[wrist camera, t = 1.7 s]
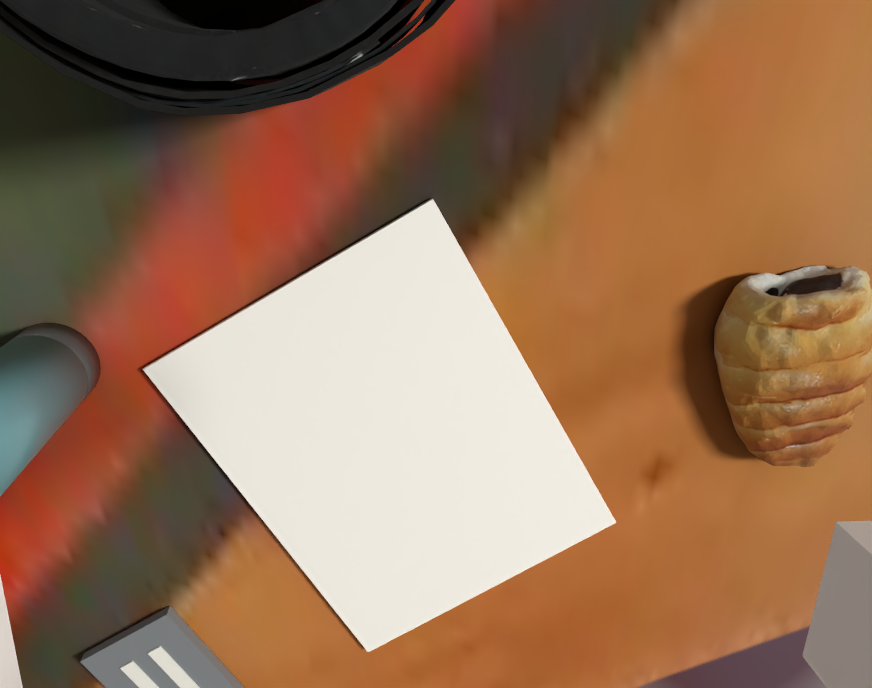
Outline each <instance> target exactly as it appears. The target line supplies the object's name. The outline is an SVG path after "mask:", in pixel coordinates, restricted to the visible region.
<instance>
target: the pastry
mask: <svg viewBox="0 0 872 688" xmlns="http://www.w3.org/2000/svg"><path fill="white" fill-rule="evenodd" d="M869 282H870V277H869V275H868V274H867V273H866V272H865V271H863V270H861V269H859V268H857V267H855V266H849V267H843V268H832V269H828V268H827V267H825V266H822V265H818V266H806V267H803V268H801V269H798V270H793V271H790V272H787V273H785V274H783V275H780V276H779V275H775V274H772V273H761V274H757V275H753V276H748V277H746V278H745V279H744V280H742V281H741V282H740V283H739V284H737V285H736V286H735V288H734V289H733V291H732V292H731V294H730V296H729V298H728V299H727V301H726V303H725V306H724V308H723V310H722V312H721V314H720V316H719V318H718V320H717V323H716V326H715V334H714V355H715V358H716V362H717V369H718V373H719V377H720V382H721V387H722V390H723V393H724V397H725V400H726V403H727V406H728V409H729V412H730V415H731V418H732V421H733V424H734V427H735V430H736V432H737V434H738V436H739V438H740V439H741V440H742V441H743V443H744V444H745V445H746V447H747V449H748V451H750V452H751V453H752V454H754V455H755V456H757V457H758V458H759V459H761V460H763V461H765V462H767V463H769V464H771V465H774V466H792V465H798V466H802V467H809V466H814V465H815V464H816V463H817V462H818V461H819V460H820V459H821V458H822V457H823V456H824V455H825V454H827V453H828V452H829V451H830V450H831V449H832V448H833V447H834V446H835V444H836V442H837V441H838V439H839V438H840V436H841V434H842V433H843V432H844V431H845V430H846V429H849V428H850V427H851V426H852V424H853V419H854V416H853V413H854V409H855V407H856V406H858V405H859V404H861V403H863V402H864V401H865V400H866V397H867V392H866V381H867V380H868V379H869V378H870V377H871V375H872V349H871V346H872V290H871V287H870V285H869Z"/></svg>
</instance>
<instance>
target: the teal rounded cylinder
mask: <svg viewBox="0 0 872 688" xmlns="http://www.w3.org/2000/svg"><path fill="white" fill-rule="evenodd" d="M99 376H100V361H99V357H98V354H97V352H96V350H95V348H94V347H93V345H92V344H91V342H90V341H89V340H88V339H87V338H86V337H85V336H83V335H82V334H81V333H79V332H78V331H76V330H74V329H72V328H70V327H68V326H65V325H61V324H56V323H41V324H36V325H33V326H30V327H28V328H27V329H25V330H23V331H22V332H21V333H19V334H18V335H17V336H15V337H14V338H13V339H11V340H10V341H9V342H7V343H6V344H5V345H3V346H2V347H1V348H0V496H1V495H2V494H3V493H4V492H5V490H6V489H7V488H8V487H9V486H10V485H11V484H12V482H13V481H14V480H15V479H16V478H17V477H18V475H19V474H20V473H21V472H22V471H23V470H24V468H25V467H26V466H27V465H28V464H29V463H30V462H31V460H32V459H33V458H34V457H35V456H36V455H37V453H38V452H39V451H40V450H41V449H42V448H43V447H44V445H45V444H46V443H47V442H48V441H49V440H50V438H51V437H52V436H53V435H54V434H55V433H56V432H57V430H58V429H59V428H60V427H61V426H62V425H63V423H64V422H65V421H66V420H67V419H68V418H69V417H70V415H71V414H72V413H73V412H74V411H75V410H76V408H77V407H78V406H79V405H80V404H81V403H82V402H83V400H84V399H85V398H86V397H87V396H88V395H89V393H90V392H91V391H92V390H93V389H94V387H95V386H96V384H97V382H98V380H99Z"/></svg>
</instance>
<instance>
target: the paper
mask: <svg viewBox="0 0 872 688" xmlns="http://www.w3.org/2000/svg"><path fill="white" fill-rule="evenodd" d="M143 370H144V372H145V373H146V374H147V375H148V377H149V378H150V379H151V381H152V382H153V383H154V384H155V386H156V387H157V388H158V389H159V391H160V392H161V393H162V394H163V396H164V397H165V398H166V399H167V401H168V402H169V403H170V404H171V406H172V407H173V408H174V409H175V411H176V412H177V413H178V414H179V416H180V417H181V418H182V419H183V421H184V422H185V423H186V424H187V426H188V427H189V428H190V429H191V431H192V432H193V433H194V434H195V436H196V437H197V438H198V440H199V441H200V442H201V443H202V445H203V446H204V447H205V448H206V450H207V451H208V452H209V453H210V455H211V456H212V457H213V458H214V460H215V461H216V462H217V463H218V465H219V466H220V467H221V468H222V470H223V471H224V472H225V473H226V475H227V476H228V477H229V478H230V480H231V481H232V482H233V483H234V485H235V486H236V487H237V488H238V490H239V491H240V492H241V493H242V495H243V496H244V497H245V499H246V500H247V501H248V502H249V504H250V505H251V506H252V507H253V509H254V510H255V511H256V512H257V514H258V515H259V516H260V517H261V519H262V520H263V521H264V522H265V524H266V525H267V526H268V527H269V529H270V530H271V531H272V532H273V534H274V535H275V536H276V537H277V539H278V540H279V541H280V542H281V544H282V545H283V546H284V547H285V549H286V550H287V551H288V553H289V554H290V555H291V556H292V558H293V559H294V560H295V561H296V563H297V564H298V565H299V566H300V568H301V569H302V570H303V571H304V573H305V574H306V575H307V576H308V578H309V579H310V580H311V581H312V583H313V584H314V585H315V586H316V588H317V589H318V590H319V591H320V593H321V594H322V595H323V596H324V598H325V599H326V600H327V601H328V603H329V604H330V605H331V606H332V608H333V609H334V610H335V612H336V613H337V614H338V615H339V617H340V618H341V619H342V620H343V622H344V623H345V624H346V625H347V627H348V628H349V629H350V630H351V632H352V633H353V634H354V635H355V637H356V638H357V639H358V640H359V642H360V643H361V644H362V645H363V647H364V648H365V649H366V650H367V652H370V651H372V650H374V649H375V648H377V647H379V646H381V645H383V644H385V643H387V642H389V641H391V640H393V639H395V638H396V637H398V636H400V635H402V634H404V633H406V632H408V631H410V630H412V629H414V628H416V627H418V626H419V625H421V624H423V623H425V622H427V621H429V620H431V619H433V618H435V617H437V616H439V615H440V614H442V613H444V612H446V611H448V610H450V609H452V608H454V607H456V606H458V605H460V604H461V603H463V602H465V601H467V600H469V599H471V598H473V597H475V596H477V595H479V594H481V593H483V592H484V591H486V590H488V589H490V588H492V587H494V586H496V585H498V584H500V583H502V582H504V581H505V580H507V579H509V578H511V577H513V576H515V575H517V574H519V573H521V572H523V571H525V570H527V569H528V568H530V567H532V566H534V565H536V564H538V563H540V562H542V561H544V560H546V559H548V558H549V557H551V556H553V555H555V554H557V553H559V552H561V551H563V550H565V549H567V548H569V547H571V546H572V545H574V544H576V543H578V542H580V541H582V540H584V539H586V538H588V537H590V536H592V535H593V534H595V533H597V532H599V531H601V530H603V529H605V528H607V527H609V526H611V525H613V524H615V523H616V521H615V519H614V518H613V516H612V514H611V512H610V511H609V509H608V507H607V505H606V503H605V502H604V500H603V498H602V496H601V495H600V493H599V491H598V489H597V488H596V486H595V484H594V482H593V481H592V479H591V477H590V475H589V473H588V472H587V470H586V468H585V466H584V465H583V463H582V461H581V459H580V458H579V456H578V454H577V452H576V451H575V449H574V447H573V445H572V443H571V442H570V440H569V438H568V436H567V435H566V433H565V431H564V429H563V428H562V426H561V424H560V422H559V421H558V419H557V417H556V415H555V413H554V412H553V410H552V408H551V406H550V405H549V403H548V401H547V399H546V398H545V396H544V394H543V392H542V391H541V389H540V387H539V385H538V383H537V382H536V380H535V378H534V376H533V375H532V373H531V371H530V369H529V368H528V366H527V364H526V362H525V361H524V359H523V357H522V355H521V353H520V352H519V350H518V348H517V346H516V345H515V343H514V341H513V339H512V338H511V336H510V334H509V332H508V330H507V329H506V327H505V325H504V323H503V322H502V320H501V318H500V316H499V315H498V313H497V311H496V309H495V308H494V306H493V304H492V302H491V300H490V299H489V297H488V295H487V293H486V292H485V290H484V288H483V286H482V285H481V283H480V281H479V279H478V278H477V276H476V274H475V272H474V270H473V269H472V267H471V265H470V263H469V262H468V260H467V258H466V256H465V255H464V253H463V251H462V249H461V248H460V246H459V244H458V242H457V240H456V239H455V237H454V235H453V233H452V232H451V230H450V228H449V226H448V225H447V223H446V221H445V219H444V218H443V216H442V214H441V212H440V210H439V209H438V207H437V205H436V203H435V202H434V200H433V198H431V199H430V200H428V201H426V202H425V203H423V204H421V205H420V206H418V207H416V208H414V209H413V210H411V211H409V212H408V213H406V214H404V215H403V216H401V217H399V218H397V219H396V220H394V221H392V222H391V223H389V224H387V225H386V226H384V227H382V228H380V229H379V230H377V231H375V232H374V233H372V234H370V235H369V236H367V237H365V238H363V239H362V240H360V241H358V242H357V243H355V244H353V245H351V246H350V247H348V248H346V249H345V250H343V251H341V252H340V253H338V254H336V255H334V256H333V257H331V258H329V259H328V260H326V261H324V262H323V263H321V264H319V265H317V266H316V267H314V268H312V269H311V270H309V271H307V272H306V273H304V274H302V275H300V276H299V277H297V278H295V279H294V280H292V281H290V282H289V283H287V284H285V285H283V286H282V287H280V288H278V289H277V290H275V291H273V292H272V293H270V294H268V295H266V296H265V297H263V298H261V299H260V300H258V301H256V302H254V303H253V304H251V305H249V306H248V307H246V308H244V309H243V310H241V311H239V312H237V313H236V314H234V315H232V316H231V317H229V318H227V319H226V320H224V321H222V322H220V323H219V324H217V325H215V326H214V327H212V328H210V329H209V330H207V331H205V332H203V333H202V334H200V335H198V336H197V337H195V338H193V339H192V340H190V341H188V342H186V343H185V344H183V345H181V346H180V347H178V348H176V349H174V350H173V351H171V352H169V353H168V354H166V355H164V356H163V357H161V358H159V359H157V360H156V361H154V362H152V363H151V364H149V365H147V366H146V367H144V369H143Z"/></svg>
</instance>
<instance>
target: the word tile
mask: <svg viewBox="0 0 872 688" xmlns="http://www.w3.org/2000/svg"><path fill="white" fill-rule="evenodd" d="M80 662H81V663H82V664H83V665H84V666H85V667H86V668H87V669H88V670H89V671H90V672H91V673H92V674H93V675H94V676H95V677H96V678H97V679H98V680H99V681H100V682H101V683H102V684H103V685H104V686H105V687H106V688H244V687H243V686H242V685H241V683H240V682H239V681H238V680H237V679H236V678H235V677H234V676H233V675H232V674H231V672H230V671H229V670H228V669H227V668H226V667H225V666H224V665H223V664H222V663H221V661H220V660H219V659H218V658H217V657H216V656H215V655H214V654H213V653H212V652H211V650H210V649H209V648H208V647H207V646H206V645H205V644H204V643H203V642H202V641H201V639H200V638H199V637H198V636H197V635H196V634H195V633H194V632H193V631H192V629H191V628H190V627H189V626H188V625H187V624H186V623H185V622H184V621H183V620H182V618H181V617H180V616H179V615H178V614H177V613H176V612H175V611H174V610H173V609H172V607H171V606H169V607H167V608H165V609H163V610H162V611H160V612H158V613H156V614H154V615H152V616H151V617H149V618H147V619H145V620H143V621H141V622H140V623H138V624H136V625H134V626H132V627H130V628H129V629H127V630H125V631H123V632H121V633H119V634H118V635H116V636H114V637H112V638H110V639H109V640H107V641H105V642H103V643H101V644H99V645H98V646H96V647H94V648H92V649H90V650H88V651H87V652H85V653H84V655H83V657H82V659H81V661H80Z"/></svg>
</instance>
